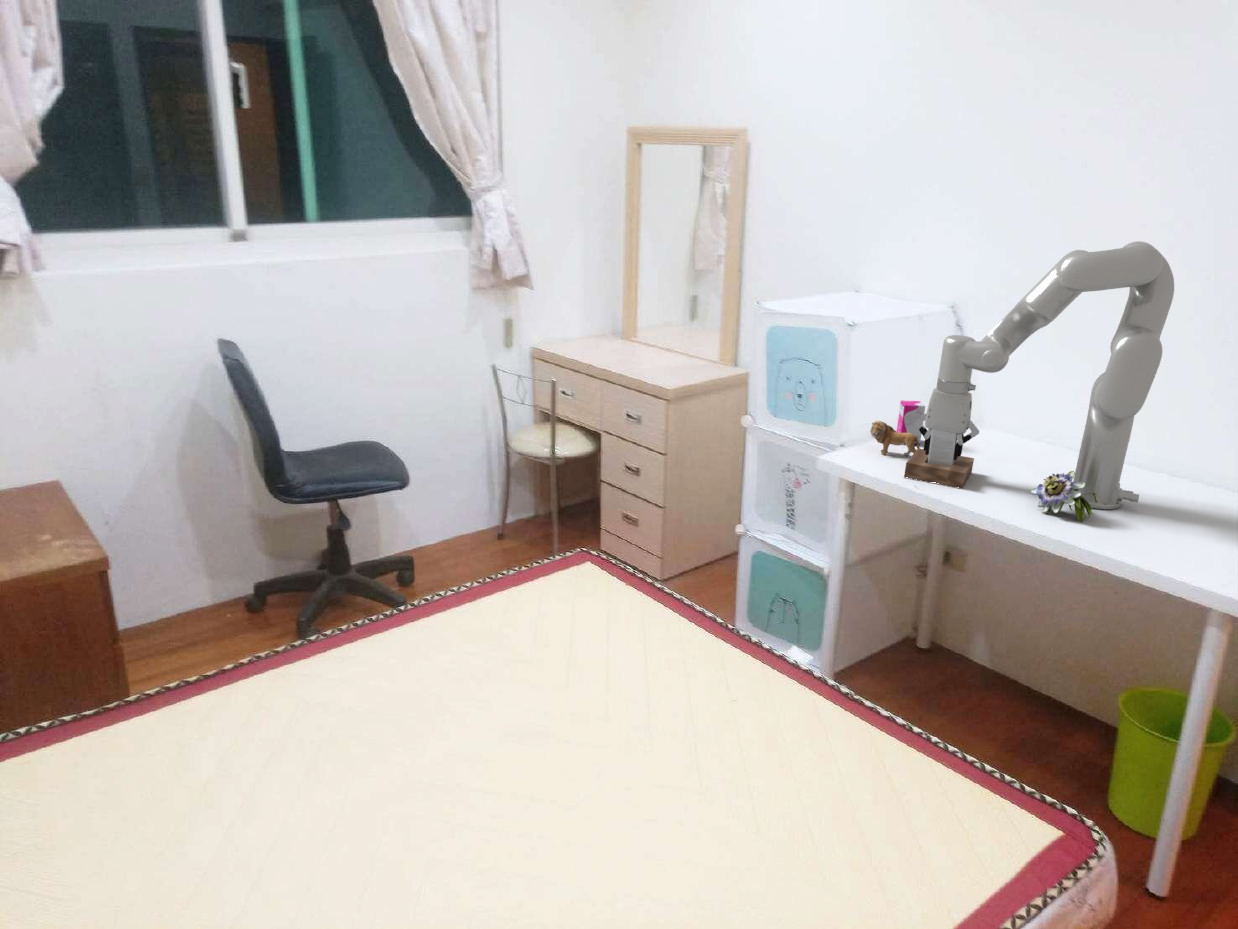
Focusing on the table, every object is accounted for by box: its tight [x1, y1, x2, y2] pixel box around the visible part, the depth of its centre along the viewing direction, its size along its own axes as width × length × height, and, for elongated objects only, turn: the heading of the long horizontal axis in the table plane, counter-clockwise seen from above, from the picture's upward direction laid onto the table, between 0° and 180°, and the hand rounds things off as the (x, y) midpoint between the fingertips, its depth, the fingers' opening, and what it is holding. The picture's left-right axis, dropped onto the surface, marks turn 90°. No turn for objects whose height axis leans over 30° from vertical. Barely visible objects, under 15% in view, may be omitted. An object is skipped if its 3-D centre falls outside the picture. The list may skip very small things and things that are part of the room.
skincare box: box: [928, 429, 958, 467], centre depth 225 cm, size 6×4×12 cm
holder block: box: [903, 447, 975, 489], centre depth 227 cm, size 14×14×4 cm
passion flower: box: [1029, 470, 1098, 523], centre depth 205 cm, size 11×11×12 cm
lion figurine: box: [869, 420, 921, 456], centre depth 241 cm, size 15×5×9 cm, turn 73°
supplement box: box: [896, 399, 926, 446], centre depth 252 cm, size 6×6×12 cm
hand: (941, 455), depth 226 cm, fingers closed on skincare box, 6 cm apart
